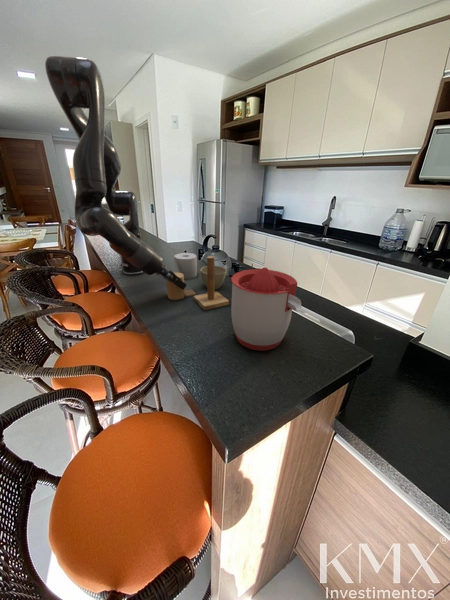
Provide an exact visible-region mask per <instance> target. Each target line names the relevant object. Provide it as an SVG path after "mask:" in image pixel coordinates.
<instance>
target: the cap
mask: <svg viewBox="0 0 450 600" xmlns="http://www.w3.org/2000/svg"><path fill="white" fill-rule="evenodd" d="M173 272H174V271H173ZM174 273H175V275H176V276H178V277H179V278H181V279H182V280H181V281H183V282H184V283H185V279H184V275H183V274H182V273H178V272H174ZM165 285H166V294H167V298H168V299H169V300H172V301H173V300H174V301H178V300H182V299H184V298H185V297H186V298H190V297H194V296H196V295H198V294H197V293H196V292H195V291H194V289H192V288H189V289H186V287H185V288H184V289H181V288H180V287H178V286H176V285H175V284H174V283H172V282H171V281H170V282H168V281H167V280H165Z"/></svg>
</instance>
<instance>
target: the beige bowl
mask: <svg viewBox="0 0 450 600" xmlns="http://www.w3.org/2000/svg"><path fill="white" fill-rule="evenodd" d="M227 272H228V271H227V269H226V267H224V266H221V265H215V290H218V289H219V288H220V287H221V286H222V285H223V283H224V281H225V279H226V276H227ZM200 275H201V279H202V281H203V284H204V285H205V286H206V287H207V265H206V266H205V265H204V266H203V267H201V268H200Z"/></svg>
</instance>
